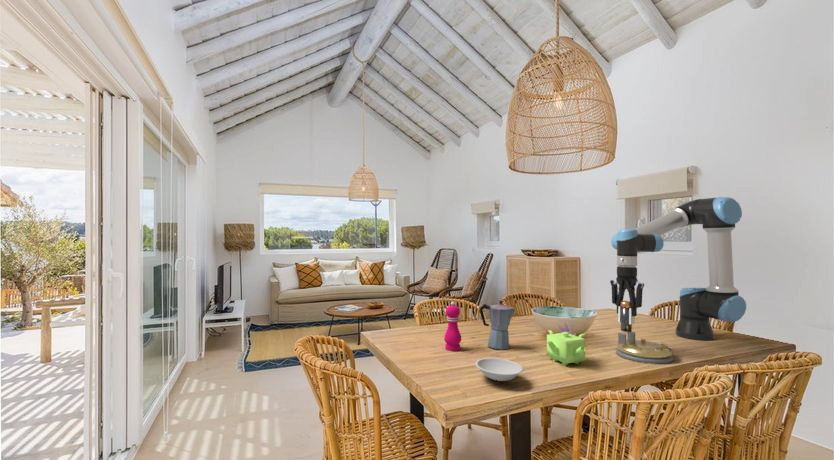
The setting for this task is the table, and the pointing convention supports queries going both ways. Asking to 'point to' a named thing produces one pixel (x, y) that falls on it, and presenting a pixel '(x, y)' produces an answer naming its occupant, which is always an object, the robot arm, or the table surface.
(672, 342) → the table surface
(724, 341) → the table surface
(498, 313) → the moka pot
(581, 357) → the green animal planter
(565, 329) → the lily
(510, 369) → the dish
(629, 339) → the gold and gray disc
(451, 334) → the pepper mill
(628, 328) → the pin
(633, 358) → the base plate
